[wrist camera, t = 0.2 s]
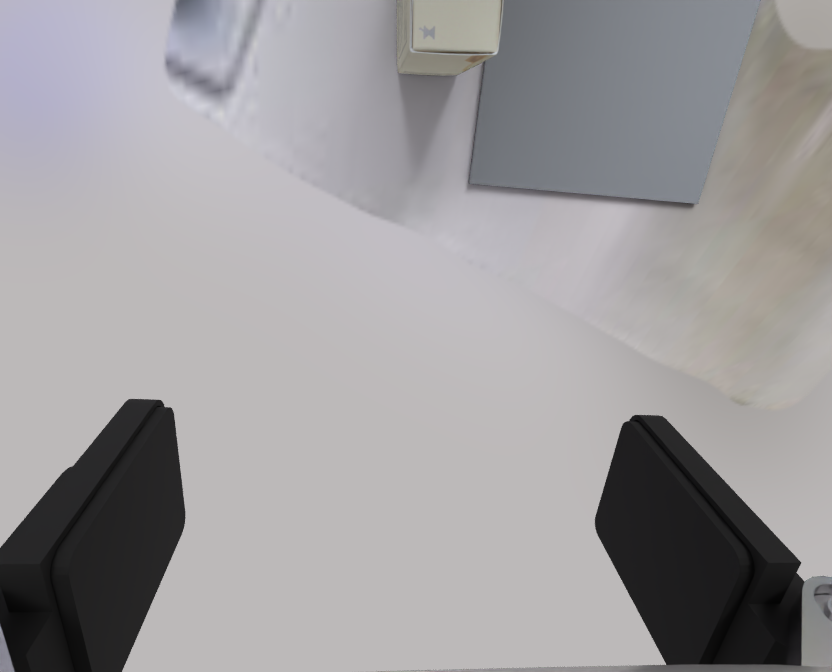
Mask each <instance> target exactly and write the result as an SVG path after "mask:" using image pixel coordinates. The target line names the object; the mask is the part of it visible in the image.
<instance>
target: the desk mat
mask: <svg viewBox="0 0 832 672" xmlns="http://www.w3.org/2000/svg"><path fill="white" fill-rule="evenodd" d="M760 1H761V0H504V5H503V17H502V26H501V35H500V42H499V50H498V53H497V54H496V55H495V56H493V57H491V58H490V59H488V60H486V61H485V63H484V71H483V78H482V86H481V94H480V101H479V109H478V116H477V124H476V132H475V139H474V147H473V154H472V162H471V170H470V177H469V184H478V185H489V186H501V187H512V188H524V189H535V190H546V191H558V192H569V193H580V194H592V195H603V196H614V197H626V198H637V199H649V200H660V201H671V202H683V203H694V204H698V202H699V199H700V196H701V193H702V189H703V186H704V183H705V180H706V176H707V173H708V170H709V167H710V163H711V160H712V157H713V154H714V150H715V147H716V144H717V141H718V137H719V134H720V131H721V128H722V124H723V121H724V118H725V115H726V111H727V108H728V105H729V102H730V98H731V95H732V92H733V89H734V85H735V82H736V79H737V76H738V72H739V69H740V66H741V63H742V59H743V56H744V53H745V50H746V46H747V43H748V40H749V37H750V33H751V30H752V27H753V24H754V20H755V17H756V14H757V11H758V7H759V4H760Z"/></svg>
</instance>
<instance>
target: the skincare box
mask: <svg viewBox="0 0 832 672" xmlns="http://www.w3.org/2000/svg"><path fill="white" fill-rule="evenodd" d="M503 5H504V0H397V70H398V73H403V74H416V75H437V76H450V75H458V74H461V73H463V72H464V71H466V70H468V69H470V68H472V67H474V66H476V65H478V64H480V63H482V62H484V61H486V60H488V59H490V58H491V57H493V56H495V55H496V54H497V53H498V50H499V42H500V35H501V26H502V17H503Z"/></svg>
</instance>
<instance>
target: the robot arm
mask: <svg viewBox="0 0 832 672" xmlns="http://www.w3.org/2000/svg"><path fill="white" fill-rule="evenodd" d="M184 524H185V507H184V498H183V489H182V480H181V472H180V463H179V455H178V446H177V437H176V428H175V420H174V413H173V410H172V408H168V407H164V404H163V402H162V401H161V400H148V399H145V400H144V399H129V400H127V401H126V402H125V403H124V405H123V406H122V407H121V408H120V409H119V411H118V412H117V413H116V414H115V416H114V417H113V418H112V419H111V421H110V422H109V423H108V424H107V425H106V427H105V428H104V429H103V430H102V432H101V433H100V434H99V435H98V437H97V438H96V439H95V440H94V441H93V443H92V444H91V445H90V446H89V448H88V449H87V450H86V451H85V452H84V454H83V455H82V456H81V457H80V458H79V460H78V461H77V462H76V463H75V465H74V466H73V467H69V468H68V469H67V470H65V471H64V472H63V473H62V474H61V476H60V477H59V478H58V479H57V480H56V481H55V483H54V484H53V485H52V486H51V488H50V489H49V490H48V491H47V492H46V493H45V495H44V496H43V497H42V498H41V499H40V501H39V502H38V503H37V504H36V506H35V507H34V508H33V509H32V510H31V512H30V513H29V514H28V515H27V516H26V518H25V519H24V520H23V521H22V522H21V524H20V525H19V526H18V527H17V528H16V530H15V531H14V532H13V533H12V534H11V536H10V537H9V538H8V539H7V540H6V542H5V543H4V544H3V545H2V546H1V548H0V672H122V670H123V668H124V665H125V663H126V661H127V658H128V656H129V654H130V652H131V649H132V647H133V645H134V642H135V640H136V638H137V636H138V633H139V631H140V629H141V626H142V624H143V622H144V619H145V617H146V615H147V612H148V610H149V608H150V605H151V603H152V601H153V599H154V597H155V594H156V592H157V589H158V587H159V585H160V583H161V580H162V578H163V576H164V573H165V571H166V569H167V566H168V564H169V562H170V560H171V557H172V555H173V553H174V551H175V548H176V546H177V544H178V541H179V539H180V537H181V535H182V532H183V529H184ZM595 527H596V531H597V534H598V536H599V538H600V540H601V542H602V544H603V546H604V548H605V550H606V551H607V553H608V555H609V557H610V559H611V561H612V563H613V565H614V566H615V568H616V570H617V572H618V574H619V576H620V578H621V580H622V581H623V583H624V585H625V587H626V589H627V591H628V593H629V595H630V597H631V599H632V600H633V602H634V604H635V606H636V608H637V610H638V612H639V613H640V615H641V617H642V619H643V621H644V623H645V625H646V627H647V629H648V631H649V632H650V634H651V636H652V638H653V640H654V642H655V644H656V646H657V648H658V649H659V651H660V653H661V655H662V657H663V659H664V661H665V662H666V664H667V665H643V666H592V667H591V666H590V667H538V668H501V669H500V668H497V669H455V670H421V671H420V670H416V671H380V672H832V577H826V576H817V577H811V578H809V579H808V580H806V581H805V582H804V581H803V580H802V578H801V577H800V576H799V575H798V574H797V573H796V572H797V570H798V568H799V566H800V564H801V562H800V561H799V560H798V559H797V558H796V557H795V555H794V554H793V553H792V552H791V551H790V550H789V549H788V548H787V547H786V546H785V545H784V544H783V543H782V542H781V541H780V540H779V539H778V537H776V535H775V534H774V533H773V532H772V531H771V530H770V529H769V528H768V527H767V526H766V525H765V524H764V523H763V522H762V520H761V519H760V518H759V517H758V516H757V515H756V514H755V513H754V512H753V511H752V510H751V509H750V508H749V507H748V506H747V505H746V504H745V502H744V501H743V500H742V499H741V498H740V497H739V496H738V495H737V494H736V493H735V492H734V491H733V490H732V489H731V488H730V486H729V485H728V484H727V483H726V482H725V481H724V480H723V479H722V478H721V477H720V476H719V475H718V474H717V473H716V472H715V471H714V470H713V469H712V467H710V465H709V464H708V463H707V462H706V461H705V460H704V459H703V458H702V457H701V456H700V455H699V454H698V453H697V452H696V450H695V449H694V448H693V447H692V446H691V445H690V444H689V443H688V442H687V441H686V440H685V439H684V438H683V437H682V436H681V435H680V433H679V432H678V431H677V430H676V429H675V428H674V427H673V426H672V425H671V424H670V423H669V422H668V421H667V420H666V419H665V418H664V417H663V416H653V415H652V416H651V415H634V416H632V418H631V419H630V421H627V422H625V423H624V424H623V426H622V428H621V431H620V434H619V438H618V441H617V445H616V448H615V452H614V455H613V459H612V462H611V466H610V469H609V472H608V476H607V479H606V482H605V486H604V489H603V493H602V497H601V500H600V503H599V506H598V510H597V514H596V517H595ZM378 672H379V671H378Z"/></svg>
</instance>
